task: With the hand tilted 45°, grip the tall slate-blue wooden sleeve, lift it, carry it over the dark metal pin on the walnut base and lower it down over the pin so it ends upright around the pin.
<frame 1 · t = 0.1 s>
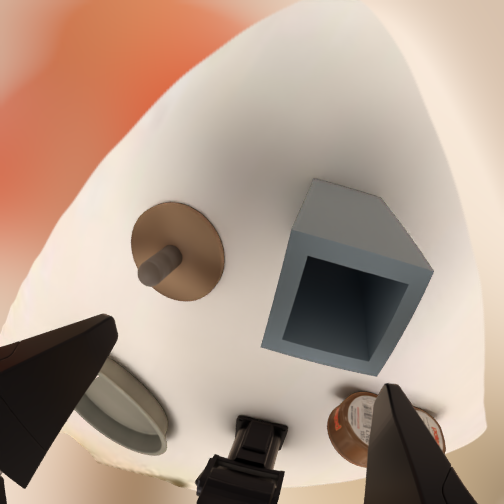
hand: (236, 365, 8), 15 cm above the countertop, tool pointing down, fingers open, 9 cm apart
tin: (391, 404, 26), on the countertop
pin base: (176, 252, 25), on the countertop
sleeve: (339, 220, 20), on the countertop
cake pan: (114, 392, 40), on the countertop
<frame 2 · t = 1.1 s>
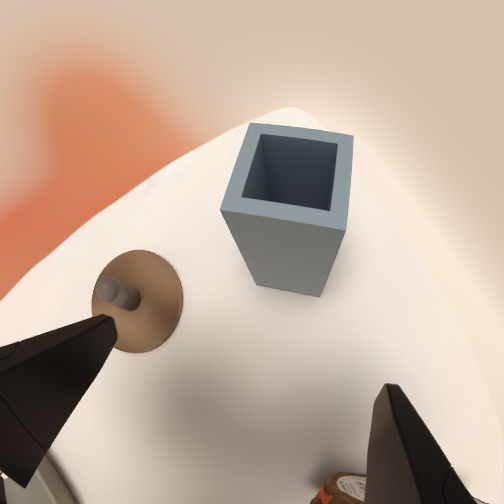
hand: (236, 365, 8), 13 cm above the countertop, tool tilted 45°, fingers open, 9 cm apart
tin: (393, 490, 15), on the countertop
pin base: (135, 301, 24), on the countertop
sleeve: (294, 260, 23), on the countertop
cake pan: (27, 488, 17), on the countertop
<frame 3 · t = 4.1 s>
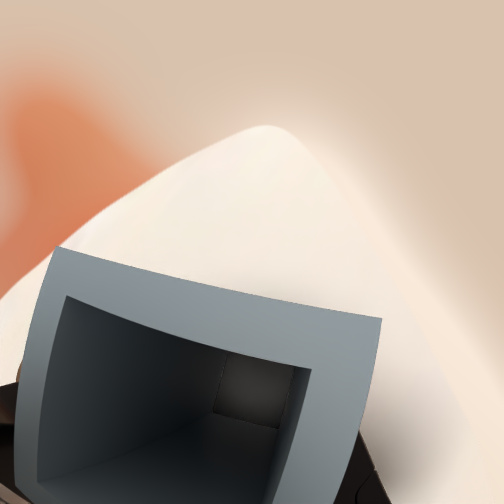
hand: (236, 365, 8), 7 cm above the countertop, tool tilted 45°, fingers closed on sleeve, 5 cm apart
sleeve: (253, 390, 14), on the countertop, touching gripper
when the fingers open (9 cm above the countertop, at t = 8.9 s): sleeve drops 1 cm, resting on pin base.
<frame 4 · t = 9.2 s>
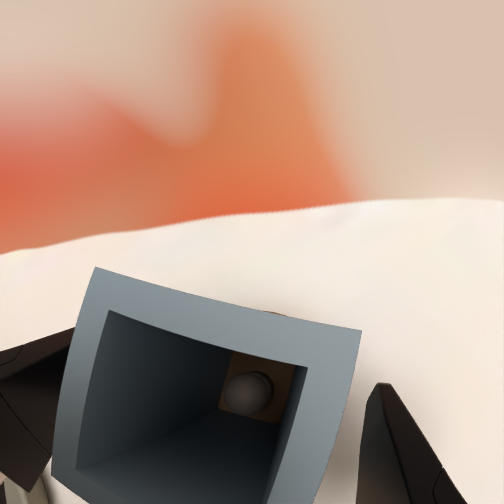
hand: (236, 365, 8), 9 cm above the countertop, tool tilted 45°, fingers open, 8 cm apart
pin base: (257, 387, 16), on the countertop
sleeve: (256, 387, 15), point 1 cm above the countertop, touching pin base
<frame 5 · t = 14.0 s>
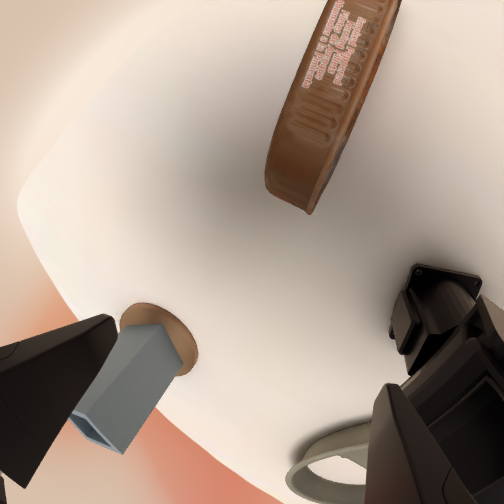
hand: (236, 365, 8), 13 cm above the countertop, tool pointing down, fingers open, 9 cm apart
tin: (342, 87, 15), on the countertop
pin base: (158, 339, 28), on the countertop
sleeve: (154, 344, 27), point 1 cm above the countertop, touching pin base
cake pan: (379, 456, 28), on the countertop
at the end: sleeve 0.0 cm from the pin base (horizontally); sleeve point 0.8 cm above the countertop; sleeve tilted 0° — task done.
